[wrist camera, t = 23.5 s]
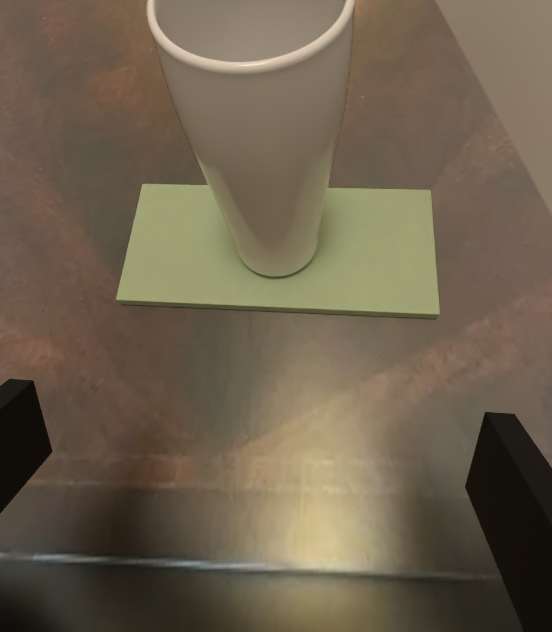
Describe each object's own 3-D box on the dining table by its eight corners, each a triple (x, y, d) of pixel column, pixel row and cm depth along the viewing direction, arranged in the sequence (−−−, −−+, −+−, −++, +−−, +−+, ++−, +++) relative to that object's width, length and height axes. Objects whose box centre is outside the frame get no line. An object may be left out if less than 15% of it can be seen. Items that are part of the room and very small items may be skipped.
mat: (427, 197, 28) (430, 189, 28) (436, 319, 25) (440, 314, 24) (146, 190, 30) (142, 183, 29) (120, 304, 27) (115, 299, 26)
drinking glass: (255, 187, 28) (210, -90, 15) (346, 222, 27) (392, -48, 13) (206, 265, 26) (99, 33, 13) (301, 307, 25) (299, 97, 11)
